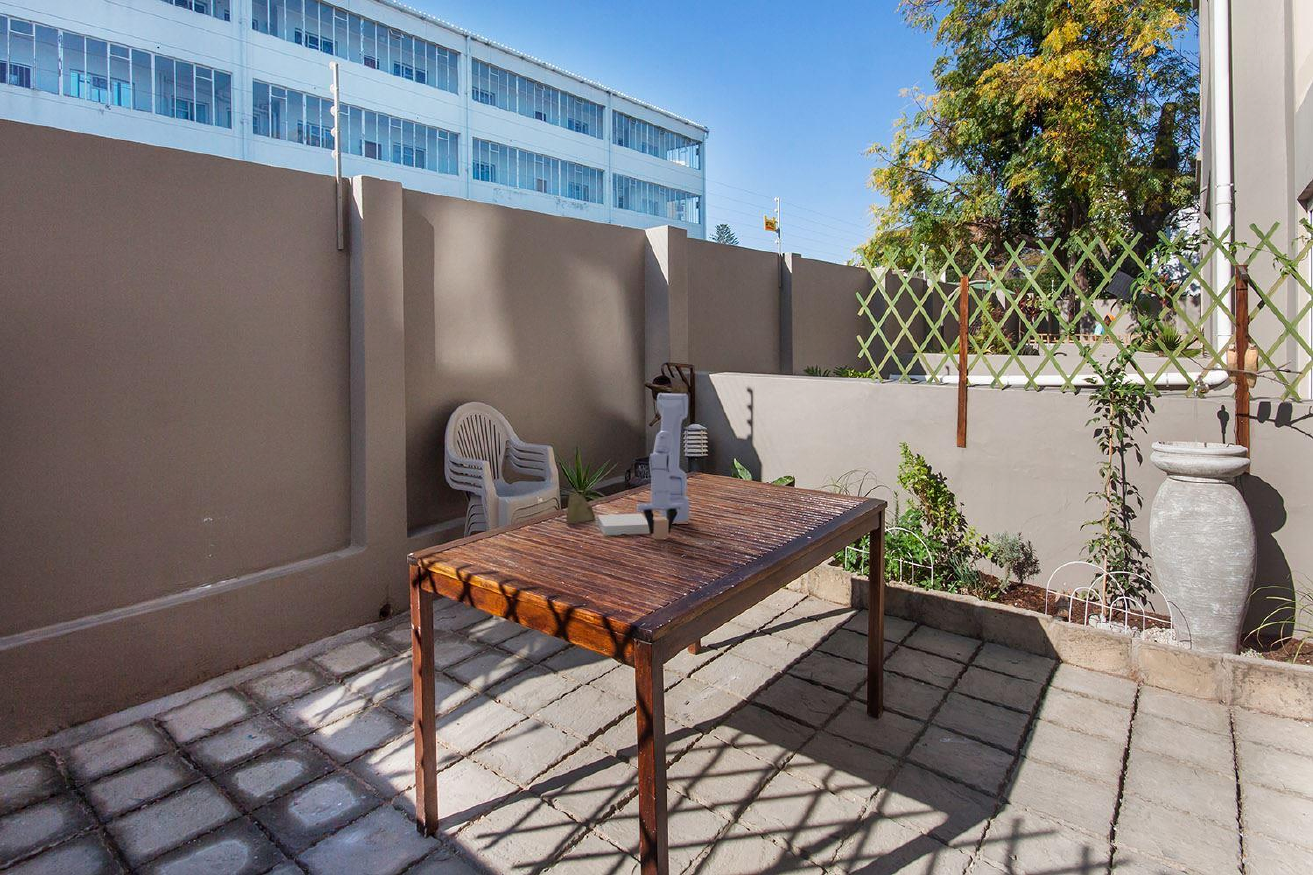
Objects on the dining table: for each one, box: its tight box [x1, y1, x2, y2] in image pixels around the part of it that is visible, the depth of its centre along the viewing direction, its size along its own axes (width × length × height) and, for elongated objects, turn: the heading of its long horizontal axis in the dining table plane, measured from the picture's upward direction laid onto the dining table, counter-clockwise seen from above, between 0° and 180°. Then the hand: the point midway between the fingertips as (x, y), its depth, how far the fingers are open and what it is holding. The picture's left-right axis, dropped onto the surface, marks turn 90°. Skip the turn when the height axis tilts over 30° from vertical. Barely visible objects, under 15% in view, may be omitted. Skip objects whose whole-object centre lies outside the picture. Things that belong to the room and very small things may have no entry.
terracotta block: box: [650, 516, 669, 540], centre depth 229 cm, size 4×4×6 cm
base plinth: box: [596, 513, 651, 536], centre depth 239 cm, size 15×15×3 cm
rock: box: [565, 492, 596, 525], centre depth 248 cm, size 11×9×10 cm
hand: (659, 532), depth 229 cm, fingers open, 5 cm apart
